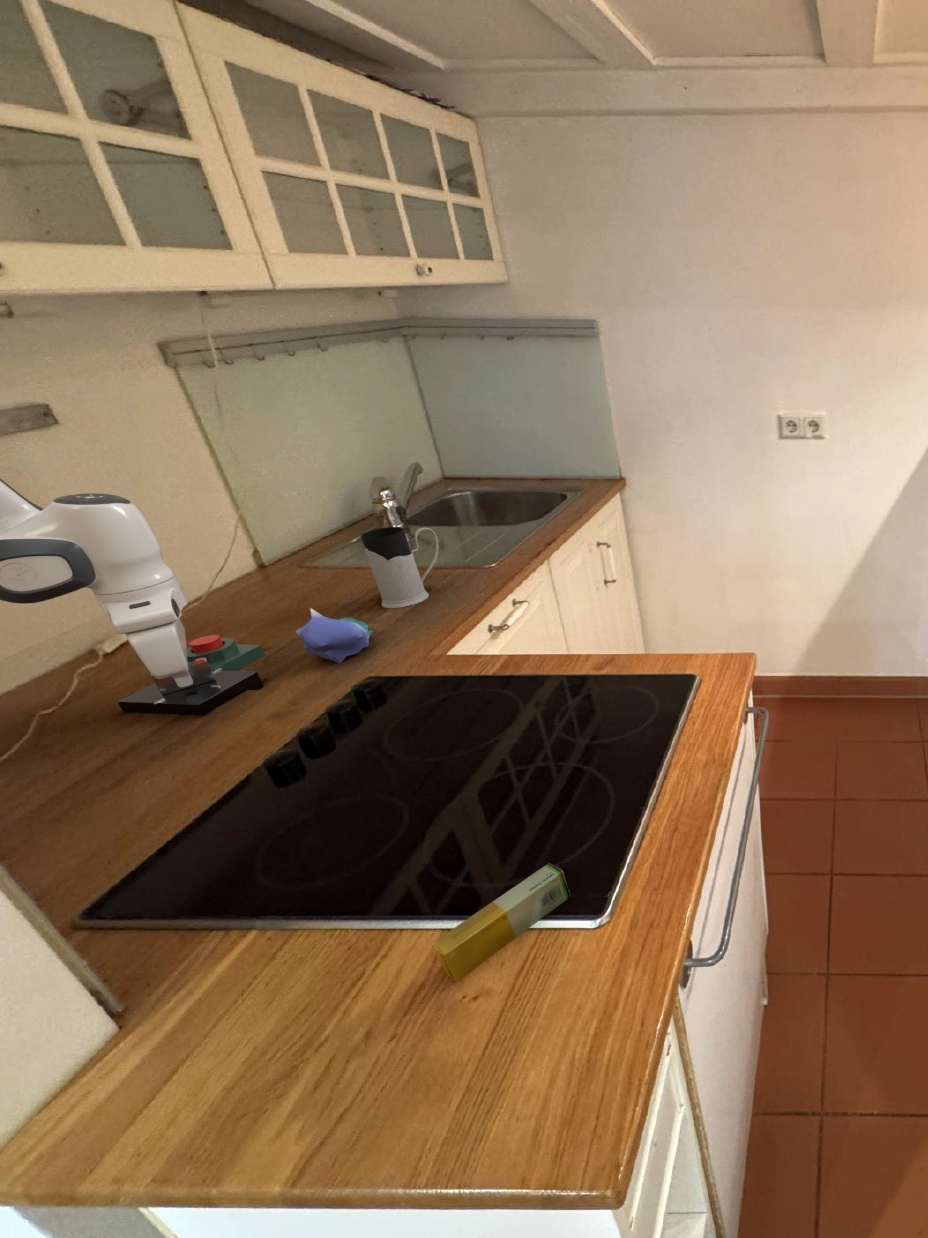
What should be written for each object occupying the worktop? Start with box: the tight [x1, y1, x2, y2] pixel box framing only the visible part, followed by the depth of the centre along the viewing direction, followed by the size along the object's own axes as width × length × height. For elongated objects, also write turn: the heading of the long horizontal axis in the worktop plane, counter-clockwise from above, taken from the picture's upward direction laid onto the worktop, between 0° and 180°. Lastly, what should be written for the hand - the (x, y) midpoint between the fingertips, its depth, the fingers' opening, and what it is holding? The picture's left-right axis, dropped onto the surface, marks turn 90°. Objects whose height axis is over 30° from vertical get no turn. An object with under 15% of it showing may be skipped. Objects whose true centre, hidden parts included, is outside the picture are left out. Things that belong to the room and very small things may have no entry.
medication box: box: [431, 862, 571, 983], centre depth 65 cm, size 12×3×4 cm, turn 144°
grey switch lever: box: [150, 657, 216, 695], centre depth 106 cm, size 6×2×4 cm, turn 133°
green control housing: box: [187, 637, 266, 671], centre depth 118 cm, size 10×9×4 cm
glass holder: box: [360, 526, 440, 609], centre depth 143 cm, size 9×14×15 cm, turn 146°
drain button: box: [188, 634, 223, 653], centre depth 117 cm, size 4×4×2 cm
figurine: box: [295, 607, 374, 664], centre depth 120 cm, size 13×12×9 cm
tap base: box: [117, 668, 265, 717], centre depth 108 cm, size 14×11×3 cm
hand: (186, 681), depth 107 cm, fingers closed on grey switch lever, 2 cm apart
